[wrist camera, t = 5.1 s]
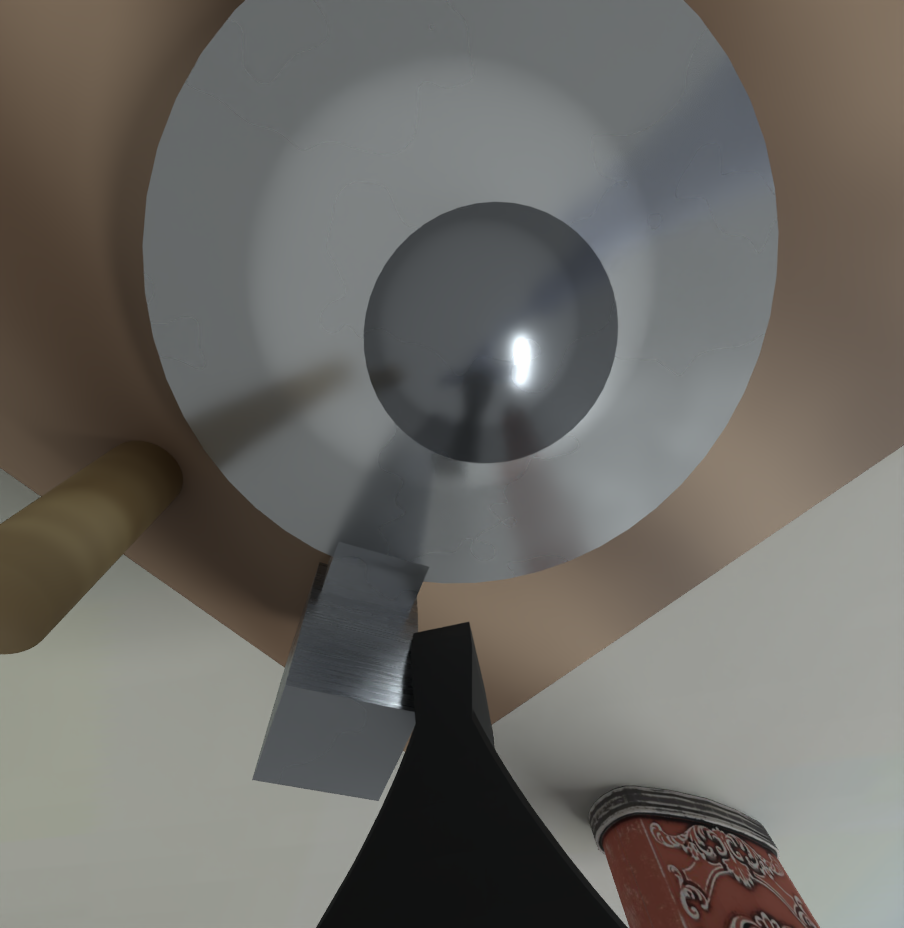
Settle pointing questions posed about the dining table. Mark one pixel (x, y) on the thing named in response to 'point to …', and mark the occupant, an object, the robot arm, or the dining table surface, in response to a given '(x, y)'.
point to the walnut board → (285, 556)
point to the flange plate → (408, 149)
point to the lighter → (693, 863)
